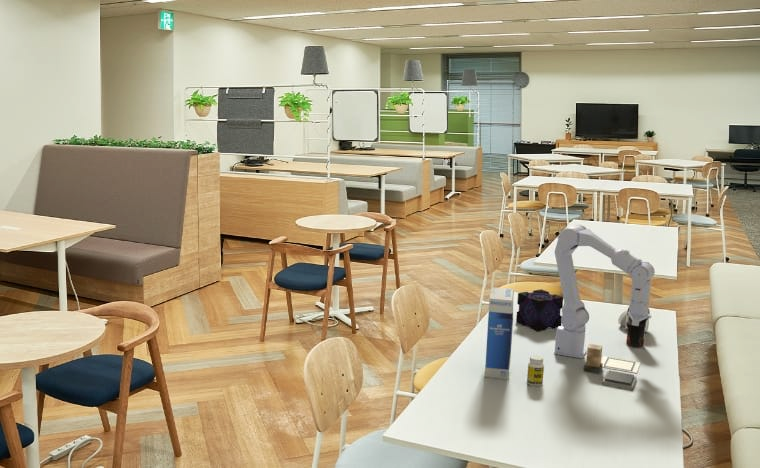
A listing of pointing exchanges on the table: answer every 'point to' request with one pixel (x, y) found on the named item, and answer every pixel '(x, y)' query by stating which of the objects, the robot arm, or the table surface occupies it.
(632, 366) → the marked card
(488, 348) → the string lights box
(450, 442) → the table surface
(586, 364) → the stamp
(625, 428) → the table surface
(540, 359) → the supplement bottle
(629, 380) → the ink pad
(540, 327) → the energy cube
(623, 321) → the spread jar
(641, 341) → the deodorant
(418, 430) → the table surface
